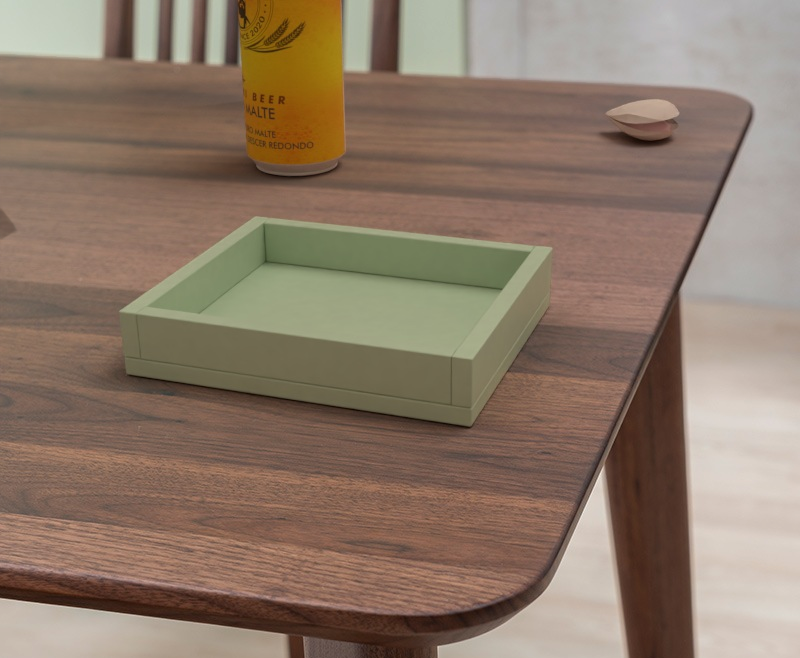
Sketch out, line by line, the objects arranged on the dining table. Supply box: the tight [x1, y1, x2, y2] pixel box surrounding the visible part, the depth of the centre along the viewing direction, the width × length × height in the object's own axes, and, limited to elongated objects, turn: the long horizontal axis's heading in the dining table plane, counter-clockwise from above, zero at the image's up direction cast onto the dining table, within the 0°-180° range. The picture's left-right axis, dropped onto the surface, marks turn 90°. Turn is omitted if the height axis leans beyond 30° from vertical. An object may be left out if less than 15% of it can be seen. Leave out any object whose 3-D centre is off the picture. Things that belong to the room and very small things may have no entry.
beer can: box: [236, 0, 347, 177], centre depth 75 cm, size 6×6×15 cm
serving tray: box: [118, 215, 554, 428], centre depth 53 cm, size 15×13×3 cm
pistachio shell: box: [605, 98, 680, 142], centre depth 83 cm, size 4×5×2 cm
